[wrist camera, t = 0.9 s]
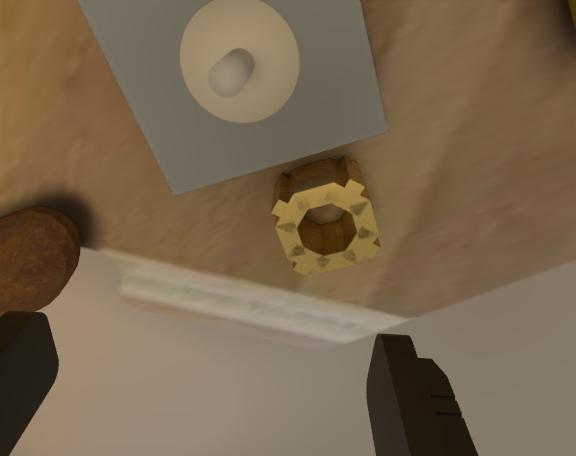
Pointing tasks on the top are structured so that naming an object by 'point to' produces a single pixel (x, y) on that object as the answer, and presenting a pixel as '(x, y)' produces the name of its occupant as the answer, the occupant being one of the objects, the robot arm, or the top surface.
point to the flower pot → (573, 10)
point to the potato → (36, 257)
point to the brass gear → (330, 237)
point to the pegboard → (240, 80)
